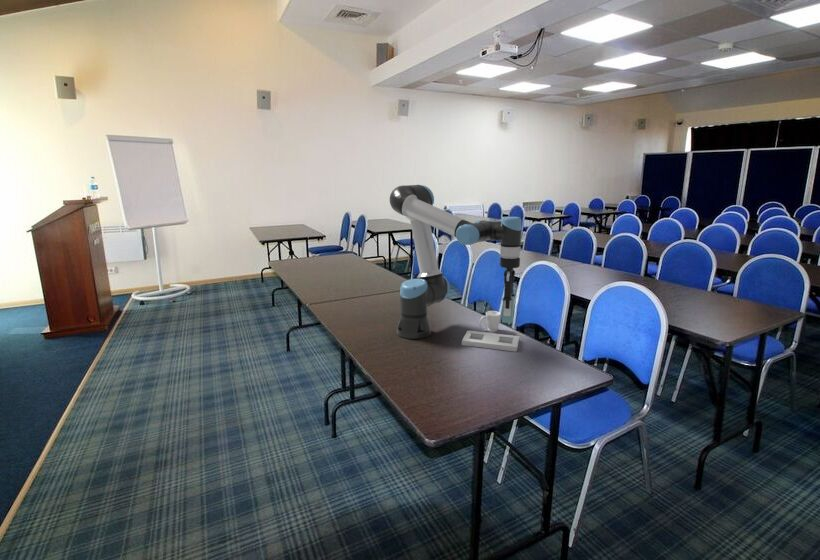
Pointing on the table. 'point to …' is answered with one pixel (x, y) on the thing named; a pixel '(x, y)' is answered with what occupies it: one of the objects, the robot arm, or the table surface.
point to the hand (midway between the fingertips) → (507, 313)
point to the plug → (510, 318)
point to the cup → (491, 320)
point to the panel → (491, 340)
